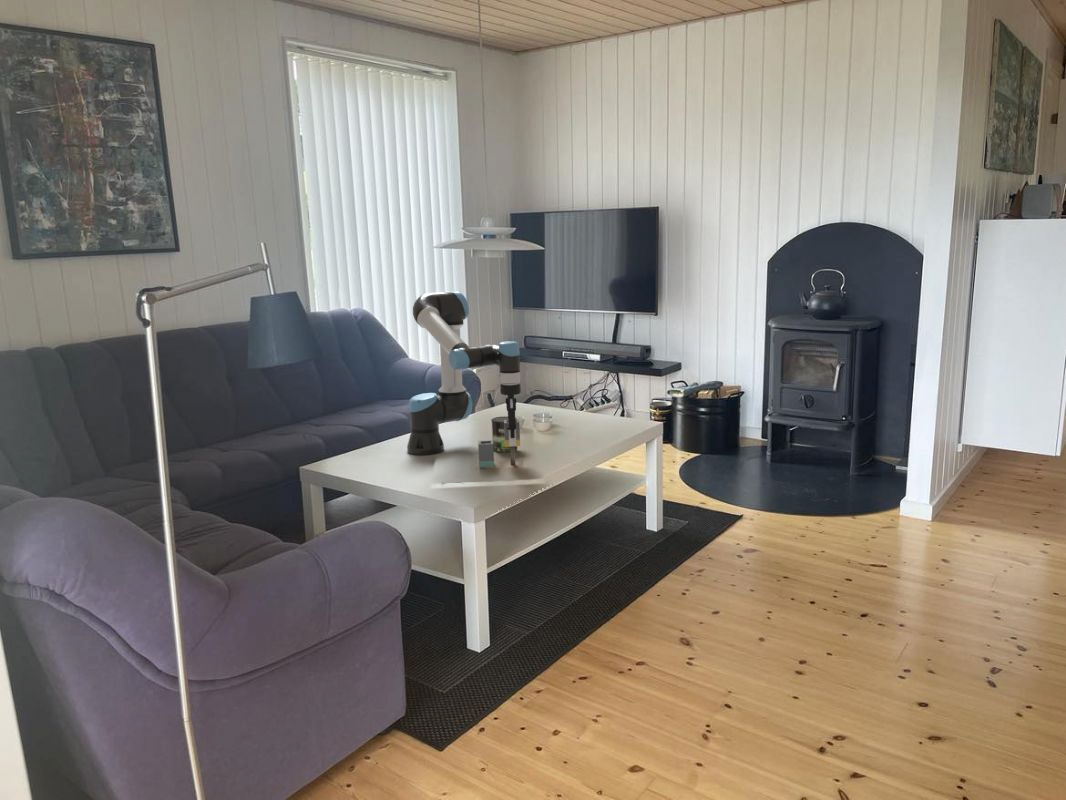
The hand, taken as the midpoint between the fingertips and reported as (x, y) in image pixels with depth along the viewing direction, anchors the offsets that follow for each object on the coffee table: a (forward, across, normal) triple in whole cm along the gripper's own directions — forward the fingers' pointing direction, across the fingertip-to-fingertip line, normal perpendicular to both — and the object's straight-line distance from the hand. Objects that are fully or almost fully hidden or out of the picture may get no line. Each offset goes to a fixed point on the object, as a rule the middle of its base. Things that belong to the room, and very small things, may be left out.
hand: (512, 443), depth 307 cm
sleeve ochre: (0, 0, 0) cm, 0 cm away
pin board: (+10, 0, -5) cm, 11 cm away
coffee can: (+10, -24, -2) cm, 26 cm away
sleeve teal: (+8, 0, -10) cm, 13 cm away
